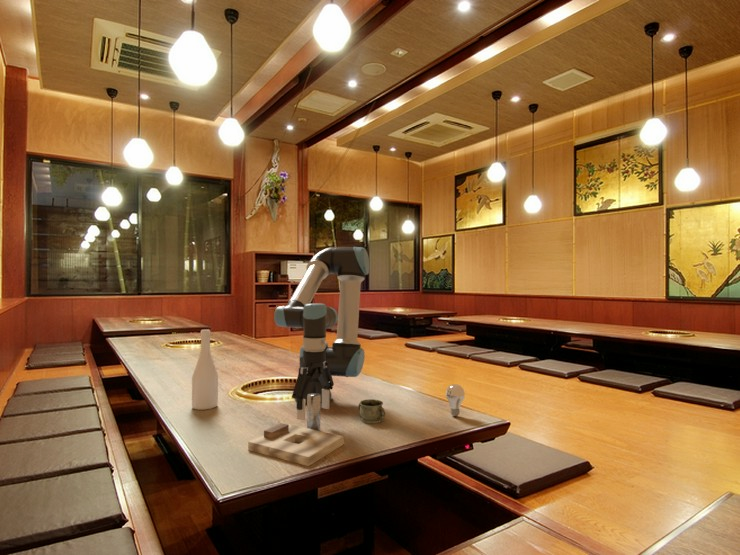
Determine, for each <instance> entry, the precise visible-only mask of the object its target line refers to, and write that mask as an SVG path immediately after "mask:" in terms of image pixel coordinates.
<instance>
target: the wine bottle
mask: <svg viewBox="0 0 740 555" xmlns="http://www.w3.org/2000/svg"><path fill="white" fill-rule="evenodd" d="M218 403H219V373H218V370H217V368H216V365H215V362H214V359H213V356H212V353H211V330H210V329H201V330H200V353H199V356H198V359H197V361H196V365H195V368H194V370H193V373H192V377H191V407H192V409H193V410H198V411H204V410H205V411H206V410H210V409H214V408H216V407H217V406H218V405H219V404H218Z"/></svg>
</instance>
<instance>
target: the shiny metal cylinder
mask: <svg viewBox="0 0 740 555" xmlns="http://www.w3.org/2000/svg"><path fill="white" fill-rule="evenodd" d="M306 408H307V409H306V419H307V420H306V428H308V429H313V430H317V431H321V411H322V410H321V409H322V404H321V394H318V393H311V394H308V395H307V404H306Z"/></svg>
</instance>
